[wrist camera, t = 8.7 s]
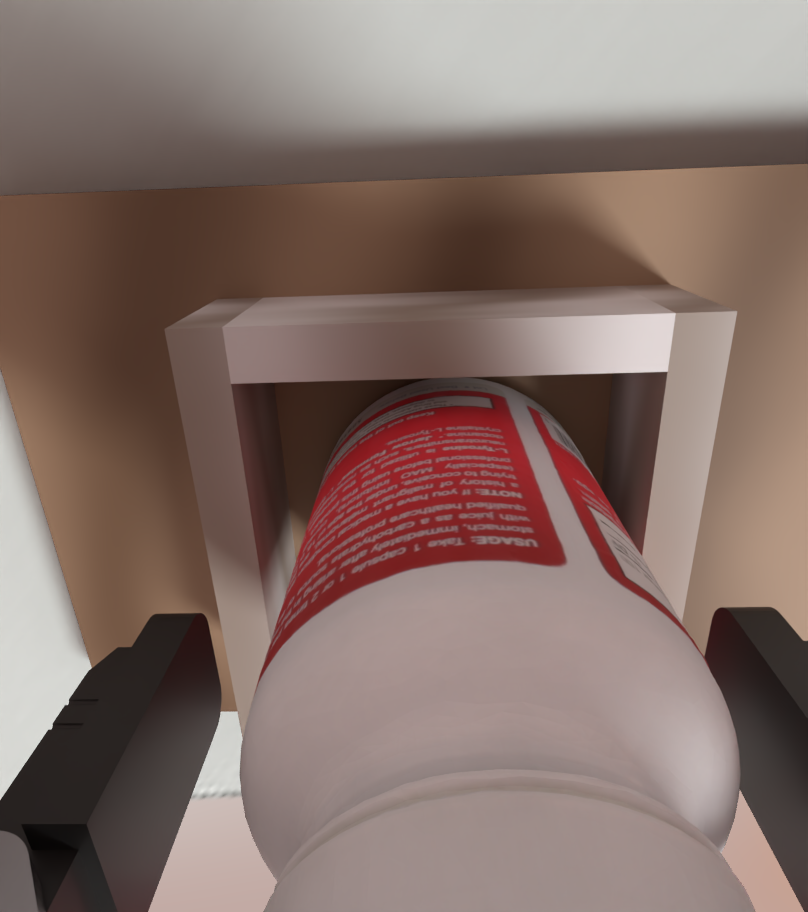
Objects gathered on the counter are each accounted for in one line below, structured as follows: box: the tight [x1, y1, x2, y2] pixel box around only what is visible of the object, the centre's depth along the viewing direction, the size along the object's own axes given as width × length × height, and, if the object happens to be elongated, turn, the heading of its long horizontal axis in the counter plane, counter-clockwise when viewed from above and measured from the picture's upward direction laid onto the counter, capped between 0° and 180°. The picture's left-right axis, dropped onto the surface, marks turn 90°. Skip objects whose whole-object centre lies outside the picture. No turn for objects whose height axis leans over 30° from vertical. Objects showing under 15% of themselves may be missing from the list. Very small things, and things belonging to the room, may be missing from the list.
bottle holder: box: [0, 164, 808, 737], centre depth 14 cm, size 20×14×4 cm
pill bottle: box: [240, 377, 755, 912], centre depth 10 cm, size 6×6×11 cm
